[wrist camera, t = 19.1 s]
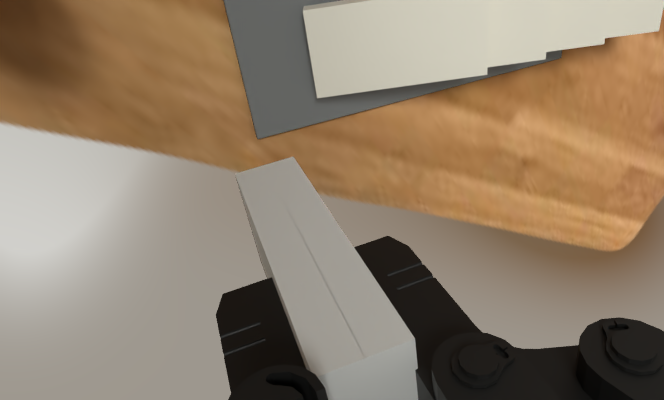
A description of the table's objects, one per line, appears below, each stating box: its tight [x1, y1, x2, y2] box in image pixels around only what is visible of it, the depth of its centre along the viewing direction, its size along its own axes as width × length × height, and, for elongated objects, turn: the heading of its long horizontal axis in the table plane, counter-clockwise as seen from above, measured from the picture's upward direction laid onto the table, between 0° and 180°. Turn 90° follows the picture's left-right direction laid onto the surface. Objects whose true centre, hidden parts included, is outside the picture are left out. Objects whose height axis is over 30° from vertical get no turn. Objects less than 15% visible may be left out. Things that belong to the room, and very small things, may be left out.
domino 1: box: [303, 0, 489, 98], centre depth 34 cm, size 2×6×12 cm
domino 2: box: [487, 0, 550, 67], centre depth 35 cm, size 2×6×12 cm
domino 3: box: [546, 0, 610, 52], centre depth 36 cm, size 2×6×12 cm
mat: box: [223, 0, 562, 139], centre depth 37 cm, size 27×11×1 cm, turn 99°
